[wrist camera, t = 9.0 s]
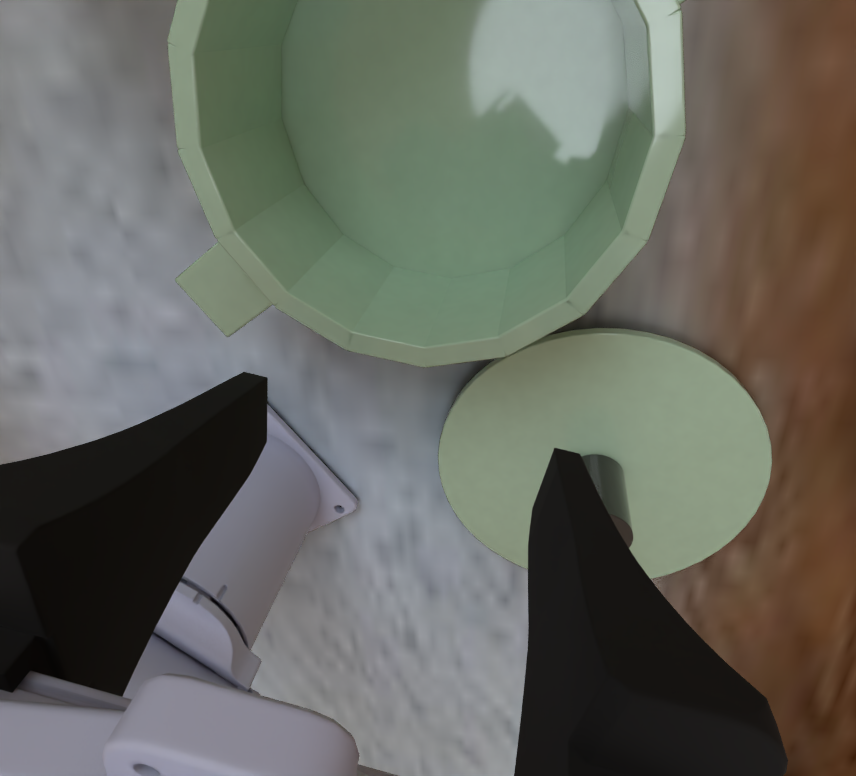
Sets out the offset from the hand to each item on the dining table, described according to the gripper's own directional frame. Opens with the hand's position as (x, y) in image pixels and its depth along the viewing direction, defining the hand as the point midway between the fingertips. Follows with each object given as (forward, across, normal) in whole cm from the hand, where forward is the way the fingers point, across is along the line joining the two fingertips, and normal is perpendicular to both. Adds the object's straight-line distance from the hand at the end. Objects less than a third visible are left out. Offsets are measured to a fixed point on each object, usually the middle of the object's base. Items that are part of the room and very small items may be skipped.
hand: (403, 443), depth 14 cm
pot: (+10, +2, -6) cm, 12 cm away
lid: (+9, -7, +6) cm, 13 cm away
